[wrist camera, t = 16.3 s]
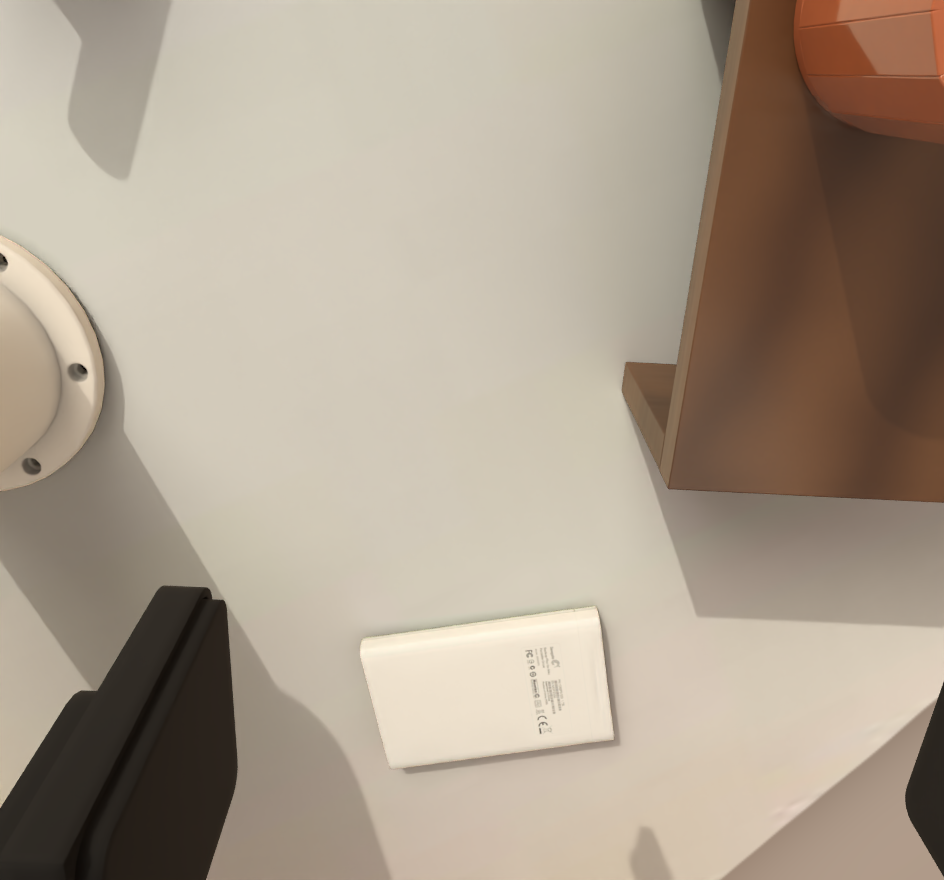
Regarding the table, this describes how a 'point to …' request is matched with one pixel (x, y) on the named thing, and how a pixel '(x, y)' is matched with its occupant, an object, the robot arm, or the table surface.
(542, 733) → the hard drive
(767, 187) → the dark wooden box
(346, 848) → the table surface
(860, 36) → the cup
